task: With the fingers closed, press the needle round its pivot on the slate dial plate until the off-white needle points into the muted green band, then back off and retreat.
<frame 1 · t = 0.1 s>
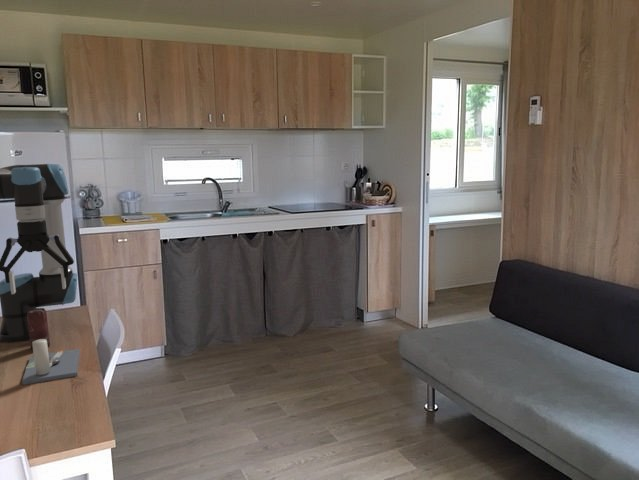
hand: (39, 290, 159), 28 cm above the table, fingers open, 13 cm apart
needle: (50, 348, 170), point 7 cm above the table, hinge at -15.0°
dial plate: (53, 367, 172), on the table
can: (41, 348, 190), on the table
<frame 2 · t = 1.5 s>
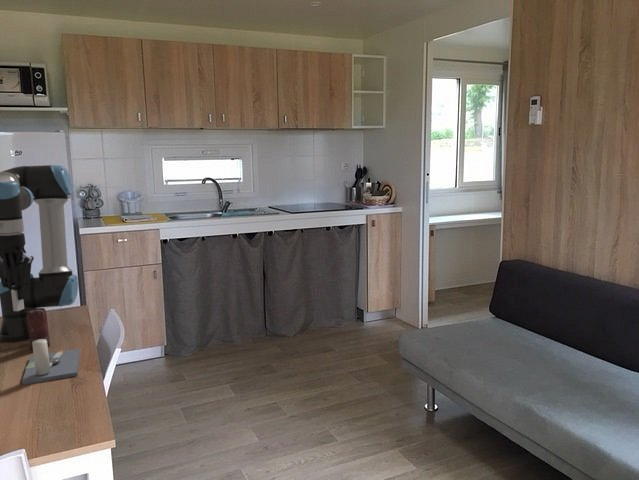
hand: (18, 309, 162), 21 cm above the table, fingers closed
nothing on the table moved.
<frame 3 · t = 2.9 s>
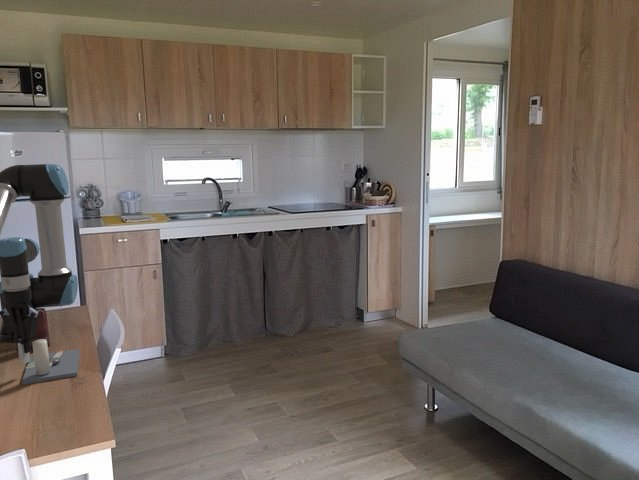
hand: (25, 362, 165), 4 cm above the table, fingers closed
nothing on the table moved.
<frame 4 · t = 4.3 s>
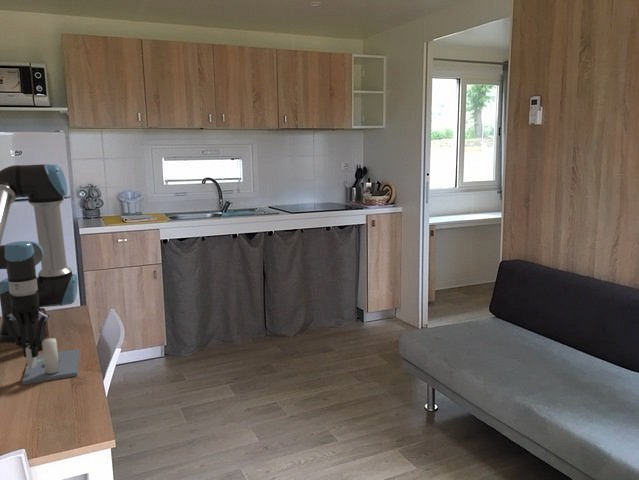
hand: (32, 366, 164), 3 cm above the table, fingers closed
needle: (50, 348, 170), point 7 cm above the table, hinge at 3.8°, touching hand
everything else where it was.
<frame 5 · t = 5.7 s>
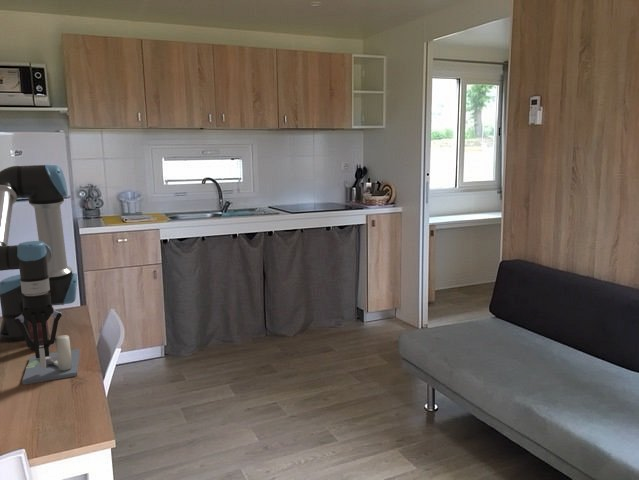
hand: (43, 367, 163), 3 cm above the table, fingers closed
needle: (51, 348, 170), point 7 cm above the table, hinge at 31.0°, touching hand
everything else where it was.
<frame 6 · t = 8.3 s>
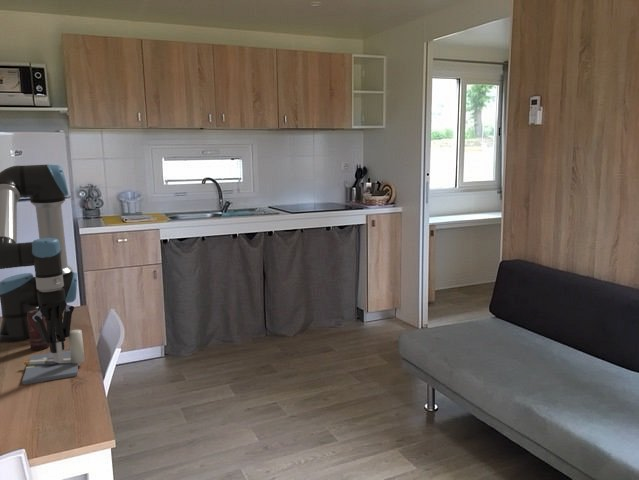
hand: (58, 361, 167), 4 cm above the table, fingers closed
needle: (53, 347, 171), point 7 cm above the table, hinge at 71.6°
everything else where it was.
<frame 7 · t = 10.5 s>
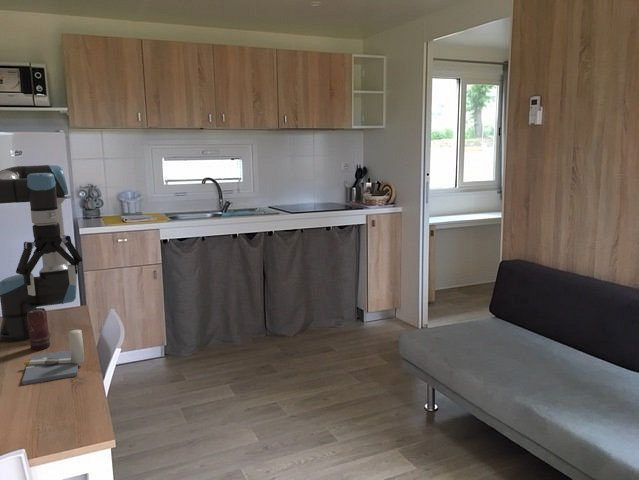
hand: (53, 289, 168), 26 cm above the table, fingers open, 13 cm apart
nothing on the table moved.
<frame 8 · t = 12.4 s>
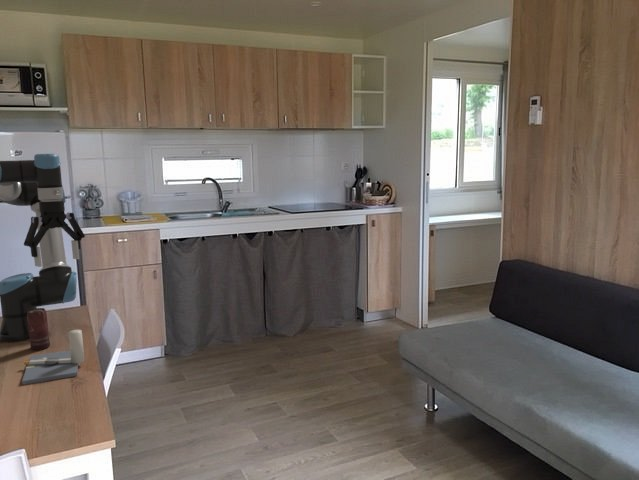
hand: (58, 262, 180), 32 cm above the table, fingers open, 13 cm apart
nothing on the table moved.
at the end: needle at +72° (first picture: -15°); the gripper is holding nothing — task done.
